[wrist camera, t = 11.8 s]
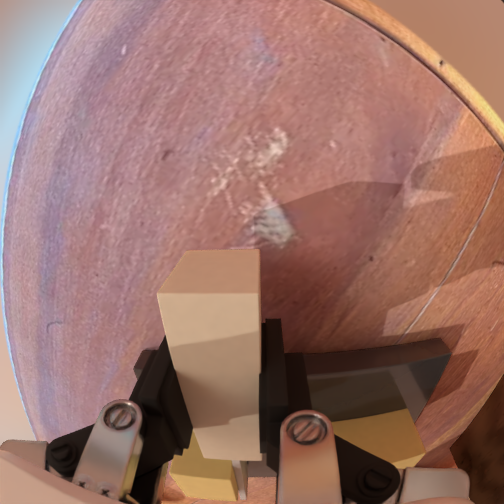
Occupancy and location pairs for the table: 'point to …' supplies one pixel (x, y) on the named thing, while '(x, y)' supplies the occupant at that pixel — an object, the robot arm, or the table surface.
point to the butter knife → (218, 350)
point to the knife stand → (484, 451)
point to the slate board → (365, 382)
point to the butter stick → (385, 437)
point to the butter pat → (204, 475)
